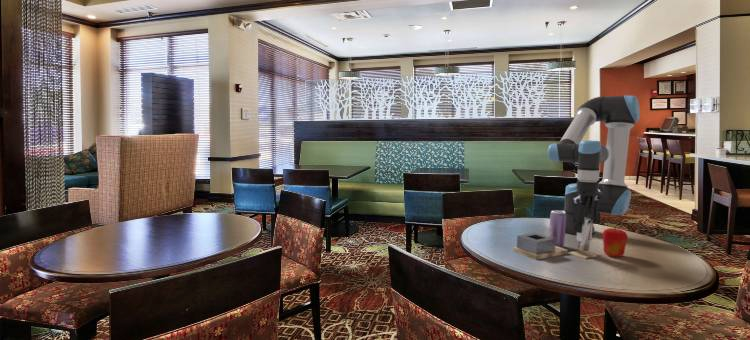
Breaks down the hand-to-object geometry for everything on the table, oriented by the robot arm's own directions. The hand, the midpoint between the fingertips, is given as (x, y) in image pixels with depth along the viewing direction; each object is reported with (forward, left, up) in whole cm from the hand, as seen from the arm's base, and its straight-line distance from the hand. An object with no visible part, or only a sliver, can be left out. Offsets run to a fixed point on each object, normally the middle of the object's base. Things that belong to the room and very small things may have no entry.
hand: (584, 239), depth 161 cm
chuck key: (0, 0, -4) cm, 4 cm away
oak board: (+12, -10, -6) cm, 17 cm away
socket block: (+15, -10, -5) cm, 19 cm away
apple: (-10, +5, -6) cm, 13 cm away
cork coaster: (0, 0, -6) cm, 6 cm away
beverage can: (0, -13, -6) cm, 14 cm away
